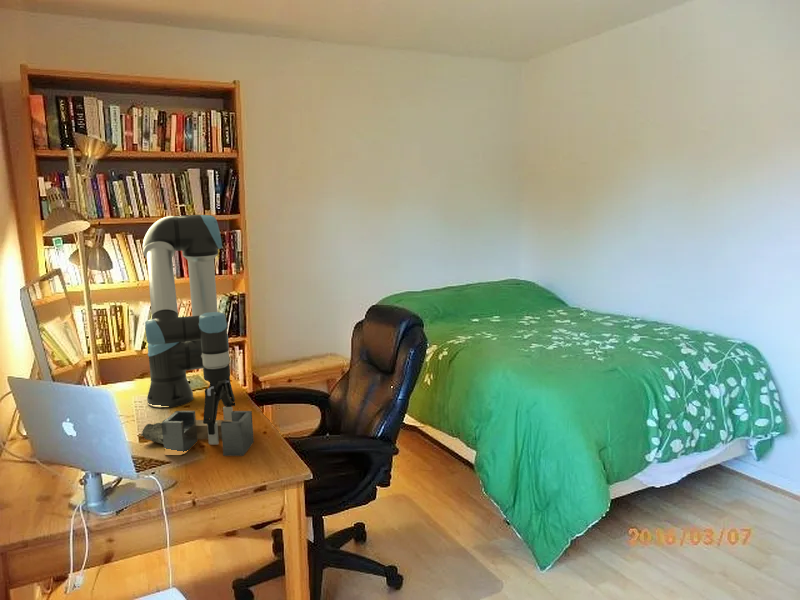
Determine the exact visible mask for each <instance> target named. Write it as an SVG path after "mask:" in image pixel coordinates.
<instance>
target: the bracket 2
mask: <svg viewBox="0 0 800 600" xmlns="http://www.w3.org/2000/svg"><path fill="white" fill-rule="evenodd" d="M231 416H232V421H222V422H221V431H222V439H221V445H222V455H223V456H224V457H227V456H229V457H231V456H232V457H235V456H236V457H244V456H245V454H246V453H247V452H248V450H249V449H250V448H251V446H252V445H253V444H254V442H255V440H254V439H255V438H254V425H253V424H254V423H252V422H253V411H252V410H233V411H232V412H231Z"/></svg>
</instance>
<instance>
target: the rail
mask: <svg viewBox="0 0 800 600" xmlns="http://www.w3.org/2000/svg"><path fill="white" fill-rule="evenodd" d="M222 421H232V420H224V419H216V422H217V426H218V438H219V440H222V431H221V422H222ZM252 423H253V421H252ZM253 424H254V423H253ZM196 428H197V439H198V440H208V428H207V424H204V423H203V419H196Z"/></svg>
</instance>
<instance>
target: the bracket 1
mask: <svg viewBox="0 0 800 600" xmlns="http://www.w3.org/2000/svg"><path fill="white" fill-rule="evenodd" d="M196 420H197V418H196V410H176V411H174V412H173V413H171V414H170V415H169V416H168V417H167V418H166V419H164V420H163V421H161V423H162V433H163V444H162V445H163V449H164V448H166V449H171V450H177V451H183V452H184V451H187V450H189V449H190V448H191V447H192V446H193V445H194V444H195V443H196V442H197V441H198V440H199V439H197V428H196ZM198 442H199V441H198ZM198 442H197V443H198ZM197 443H196V444H197ZM196 444H195V445H196ZM195 445H194V446H195ZM194 446H193V447H194ZM193 447H192V448H193ZM192 448H191V449H192ZM191 449H190V450H191ZM190 450H189V451H190Z"/></svg>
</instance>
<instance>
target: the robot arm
mask: <svg viewBox="0 0 800 600" xmlns="http://www.w3.org/2000/svg"><path fill="white" fill-rule="evenodd" d="M222 242H223V241H222V237H221V232H220V228H219V224H218V221H217V218H216V217H215V216H214V215H211V214H210V215H209V214H192V215H191V214H190V215H168V216H167V215H166V216H165V217H163V218H162V217H161V218H159V219H158V220H157V221H155V222H154V223H153V224H152V225H151V226H150V227H149V229H148V230H147V232H146V233H145V236H144V238H143V243H142V254H143V256H144V258H146V261H147V262H146V263H147V264H146V265H147V273H148V276H147V277H148V289H149V298H150V299H149V300H150V311H151V314H150V315H151V319H146V320H145V323H144V325H145V326H144V327H145V337H146V342H147V344H148V345H147V357H148V361H149V365H148V366H149V374H150V375H149V376H150V385H149V388H148V389H149V390H148V393H147V397H146V400H147V404H148V403H149V404H152V405H161V406H169V408H174V407H175V408H176V407H180V406H183V405H186V404H188V403H190V402H191V401H193V399H194V392H193V389H192V387H191V385H190V383H189V381H188V378H187V371H193V370H202V372H203V380H204V381H206V382H208V383H209V387H208V388H204V406H203V407H204V408H203V419H202V420H203V423H204V424H207V428H208V439H207V440H208V445H219V444H220V439H219V438H218V426H217V422H216V420H217V417H218V410H219V404H220V403H219V402H220V401H221V403H222V404H223V408H222V412H223V420H232V416H231V412H232V411H234V410H233V409H234V407H236V402H235V401H236V399H235V395H234V391H233V387H232V383H231V366H230V362H231V361H230V353H229V352H230V351H229V346H230V345H229V335H228V327H227V326H228V323H227V319H226V314H225V313H223V312H220V311H218V299H217V298H218V297H217V285H216V271H215V269H216V268H215V258H217V256H218V254H219V250H220V249H222V248H223V243H222ZM178 251H179V252H181V253H182V257H183V258H185V259H186V260H187V265H188V266H187V267H188V279H189V281H188V282H189V289H190V291H189V292H190V303H191V304H190V305H191V315H190V316H189V315H188V316H179V310H178V302H177V293H176V292H177V290H176V283H175V282H176V281H175V272H174V264H173V257H174V255H175V254H176V252H178Z"/></svg>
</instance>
